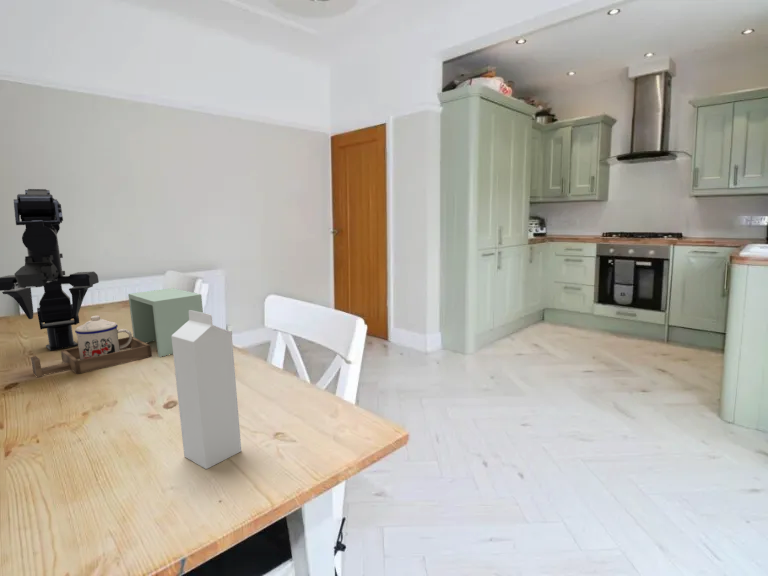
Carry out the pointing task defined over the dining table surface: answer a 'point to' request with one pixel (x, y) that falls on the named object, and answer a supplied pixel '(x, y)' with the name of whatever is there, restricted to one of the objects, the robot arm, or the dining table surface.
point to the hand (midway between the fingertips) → (53, 317)
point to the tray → (95, 358)
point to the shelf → (161, 315)
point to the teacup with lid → (99, 338)
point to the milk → (206, 390)
